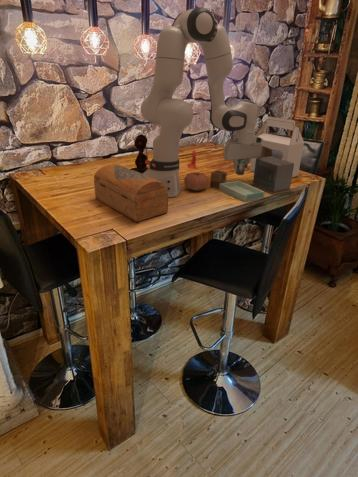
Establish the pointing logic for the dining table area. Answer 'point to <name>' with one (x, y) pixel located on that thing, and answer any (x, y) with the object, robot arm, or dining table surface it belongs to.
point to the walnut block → (217, 179)
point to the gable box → (281, 142)
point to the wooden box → (130, 192)
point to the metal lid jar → (241, 166)
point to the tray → (241, 191)
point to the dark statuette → (141, 154)
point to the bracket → (193, 160)
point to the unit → (273, 175)
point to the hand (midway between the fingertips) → (240, 168)
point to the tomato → (196, 181)
